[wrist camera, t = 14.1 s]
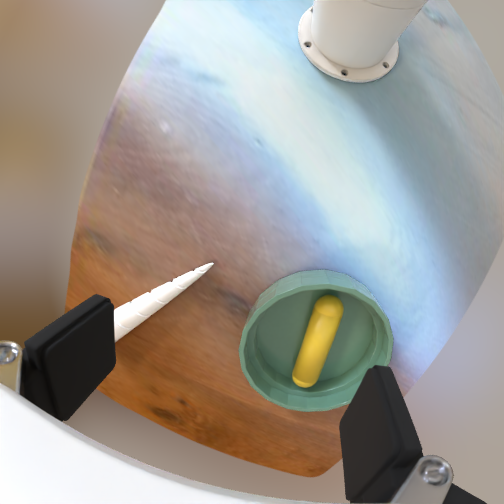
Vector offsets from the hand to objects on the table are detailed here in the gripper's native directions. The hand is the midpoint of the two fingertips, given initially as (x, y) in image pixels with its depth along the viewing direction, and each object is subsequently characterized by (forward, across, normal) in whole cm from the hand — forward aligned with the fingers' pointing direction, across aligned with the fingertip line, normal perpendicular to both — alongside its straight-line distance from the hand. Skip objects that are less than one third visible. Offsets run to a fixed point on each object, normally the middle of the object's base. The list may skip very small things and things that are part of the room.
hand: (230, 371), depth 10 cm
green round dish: (+26, -8, +12) cm, 30 cm away
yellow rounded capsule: (+26, -8, +12) cm, 30 cm away
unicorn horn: (+26, +16, +14) cm, 34 cm away
